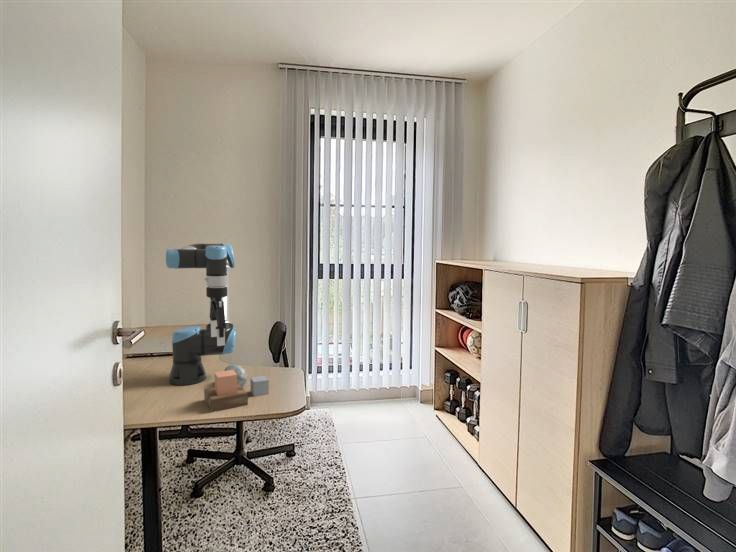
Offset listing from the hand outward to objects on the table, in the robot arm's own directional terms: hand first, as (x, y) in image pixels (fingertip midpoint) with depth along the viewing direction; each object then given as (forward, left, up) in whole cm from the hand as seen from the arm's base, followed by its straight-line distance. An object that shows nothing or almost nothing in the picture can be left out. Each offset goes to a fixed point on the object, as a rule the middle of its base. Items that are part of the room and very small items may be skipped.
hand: (217, 341), depth 165 cm
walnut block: (+4, +2, -24) cm, 24 cm away
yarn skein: (-15, +9, -24) cm, 30 cm away
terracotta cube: (+4, +2, -19) cm, 19 cm away
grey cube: (-1, +16, -24) cm, 29 cm away
